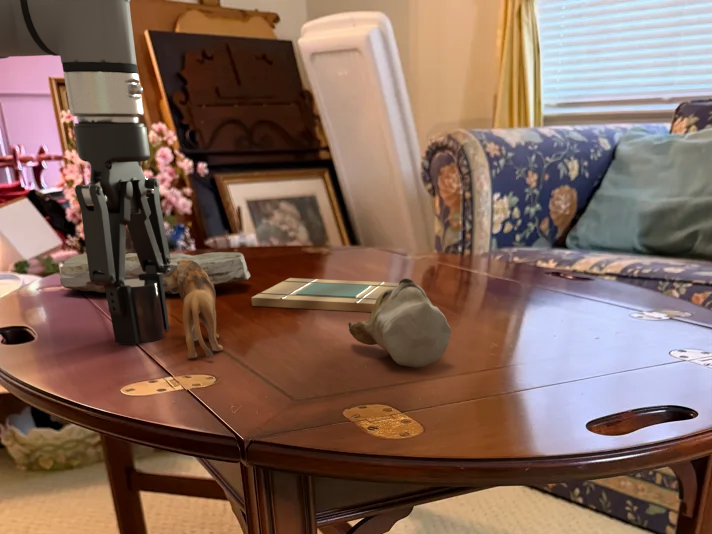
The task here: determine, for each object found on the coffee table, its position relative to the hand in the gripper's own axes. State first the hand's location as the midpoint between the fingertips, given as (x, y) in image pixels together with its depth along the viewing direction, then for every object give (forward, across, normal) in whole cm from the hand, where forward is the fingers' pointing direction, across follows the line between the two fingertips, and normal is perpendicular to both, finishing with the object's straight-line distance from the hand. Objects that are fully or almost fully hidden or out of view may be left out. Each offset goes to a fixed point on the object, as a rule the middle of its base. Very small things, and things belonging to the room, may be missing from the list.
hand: (143, 334), depth 93 cm
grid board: (0, +28, -16) cm, 32 cm away
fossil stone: (+1, +28, +13) cm, 31 cm away
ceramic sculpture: (+1, -1, -33) cm, 33 cm away
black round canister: (0, 0, 0) cm, 0 cm away
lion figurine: (+1, -2, -8) cm, 9 cm away
